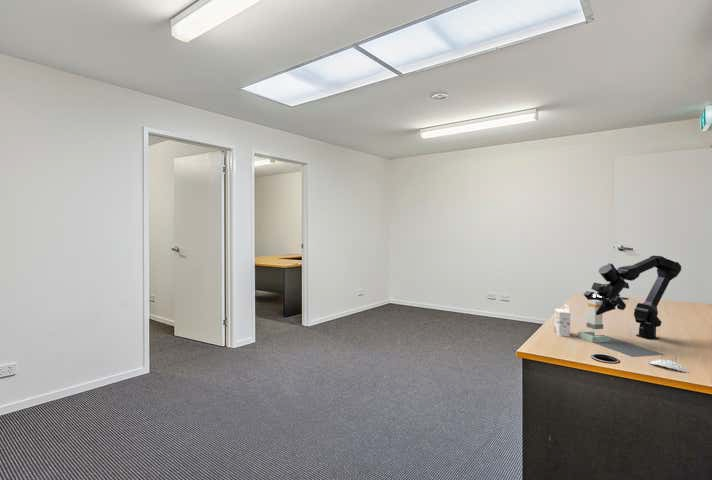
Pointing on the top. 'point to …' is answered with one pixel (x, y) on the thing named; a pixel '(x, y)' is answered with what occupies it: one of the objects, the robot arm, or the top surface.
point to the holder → (592, 337)
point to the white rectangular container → (594, 314)
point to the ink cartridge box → (562, 321)
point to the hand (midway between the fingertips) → (592, 313)
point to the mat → (626, 348)
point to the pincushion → (669, 364)
